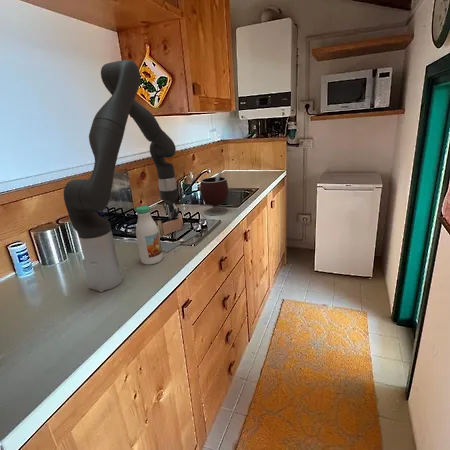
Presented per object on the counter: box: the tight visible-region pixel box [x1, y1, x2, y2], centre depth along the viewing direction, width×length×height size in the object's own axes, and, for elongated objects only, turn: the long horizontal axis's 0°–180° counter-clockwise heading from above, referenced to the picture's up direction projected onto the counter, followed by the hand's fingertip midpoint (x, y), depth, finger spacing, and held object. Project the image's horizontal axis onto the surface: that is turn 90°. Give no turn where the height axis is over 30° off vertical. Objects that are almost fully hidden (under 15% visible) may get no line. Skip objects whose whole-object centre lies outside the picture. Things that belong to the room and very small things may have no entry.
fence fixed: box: [156, 220, 163, 237], centre depth 123 cm, size 12×2×7 cm, turn 148°
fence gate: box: [162, 214, 185, 235], centre depth 131 cm, size 10×2×6 cm, turn 133°
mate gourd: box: [200, 170, 229, 217], centre depth 153 cm, size 16×14×20 cm
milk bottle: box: [135, 205, 164, 265], centre depth 105 cm, size 8×8×20 cm
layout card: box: [160, 228, 202, 254], centre depth 126 cm, size 22×16×1 cm
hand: (173, 225), depth 135 cm, fingers closed
